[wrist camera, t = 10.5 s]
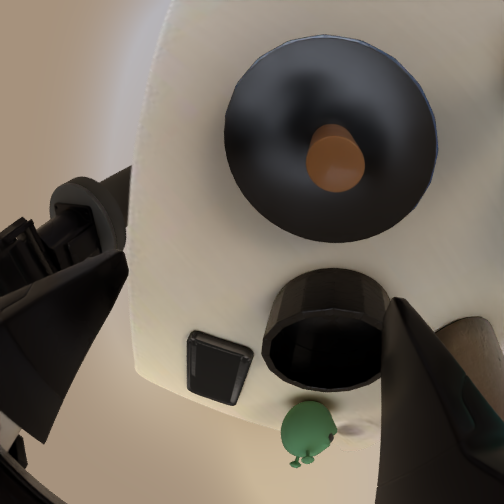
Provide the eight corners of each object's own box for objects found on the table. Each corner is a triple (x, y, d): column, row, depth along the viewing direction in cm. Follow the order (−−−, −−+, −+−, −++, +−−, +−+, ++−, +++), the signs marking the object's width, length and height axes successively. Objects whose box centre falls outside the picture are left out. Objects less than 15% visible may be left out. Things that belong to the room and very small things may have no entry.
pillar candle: (404, 365, 27) (408, 488, 14) (454, 306, 21) (491, 451, 9) (458, 374, 26) (471, 478, 14) (506, 323, 20) (542, 438, 8)
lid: (228, 219, 19) (196, 264, 15) (232, 35, 13) (191, 16, 8) (403, 249, 17) (422, 304, 13) (442, 68, 10) (488, 64, 6)
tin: (268, 343, 29) (257, 380, 25) (279, 257, 23) (267, 296, 19) (368, 359, 27) (369, 397, 23) (409, 279, 21) (420, 320, 17)
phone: (252, 357, 29) (234, 407, 38) (255, 350, 30) (236, 401, 39) (185, 335, 30) (186, 390, 39) (189, 328, 31) (188, 384, 40)
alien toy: (326, 417, 37) (317, 475, 28) (280, 406, 37) (265, 465, 29) (349, 399, 32) (343, 465, 24) (297, 387, 33) (283, 456, 25)
